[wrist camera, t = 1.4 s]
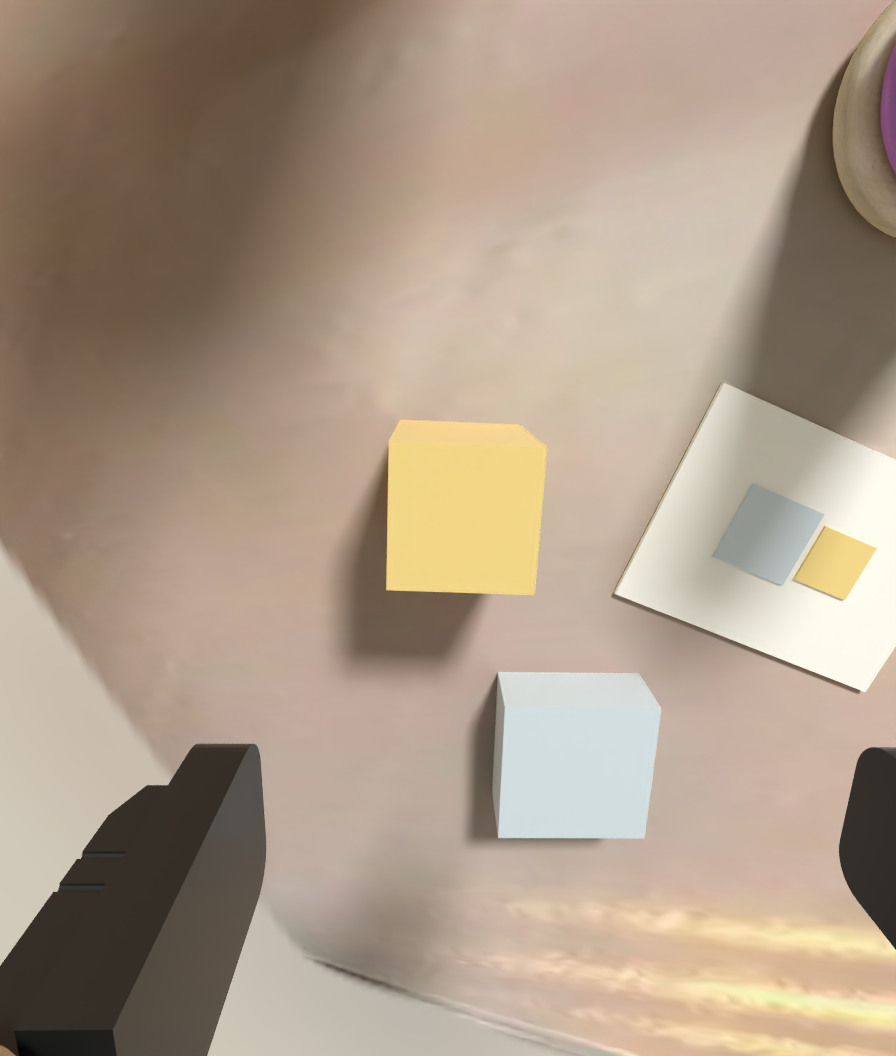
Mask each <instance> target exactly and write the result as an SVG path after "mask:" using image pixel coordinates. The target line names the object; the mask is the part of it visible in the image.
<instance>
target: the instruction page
mask: <svg viewBox="0 0 896 1056" xmlns="http://www.w3.org/2000/svg"><path fill="white" fill-rule="evenodd" d="M614 593H615V594H616V595H619V596H621V597H624V598H626V599H629V600H632V601H634V602H637V603H639V604H642V605H644V606H647V607H649V608H652V609H654V610H657V611H660V612H662V613H665V614H667V615H670V616H672V617H675V618H677V619H680V620H682V621H685V622H688V623H690V624H693V625H695V626H698V627H700V628H703V629H705V630H708V631H711V632H713V633H716V634H718V635H721V636H723V637H726V638H728V639H731V640H733V641H736V642H739V643H741V644H744V645H746V646H749V647H751V648H754V649H756V650H759V651H761V652H764V653H767V654H769V655H772V656H774V657H777V658H779V659H782V660H784V661H787V662H790V663H792V664H795V665H797V666H800V667H802V668H805V669H807V670H810V671H812V672H815V673H818V674H820V675H823V676H825V677H828V678H830V679H833V680H835V681H838V682H840V683H843V684H846V685H848V686H851V687H853V688H856V689H858V690H861V691H863V692H866V690H867V689H868V687H869V686H870V684H871V683H872V681H873V680H874V678H875V677H876V675H877V674H878V672H879V670H880V669H881V667H882V666H883V664H884V663H885V661H886V660H887V658H888V657H889V655H890V654H891V652H892V651H893V649H894V648H895V646H896V460H895V459H893V458H890V457H888V456H886V455H884V454H882V453H879V452H877V451H875V450H873V449H870V448H868V447H866V446H864V445H862V444H859V443H857V442H855V441H853V440H850V439H848V438H846V437H844V436H841V435H839V434H837V433H835V432H833V431H830V430H828V429H826V428H824V427H821V426H819V425H817V424H815V423H813V422H810V421H808V420H806V419H804V418H801V417H799V416H797V415H795V414H793V413H790V412H788V411H786V410H784V409H781V408H779V407H777V406H775V405H773V404H770V403H768V402H766V401H764V400H761V399H759V398H757V397H755V396H752V395H750V394H748V393H746V392H744V391H741V390H739V389H737V388H735V387H732V386H730V385H728V384H726V383H721V385H720V387H719V389H718V391H717V393H716V395H715V397H714V399H713V400H712V402H711V404H710V406H709V408H708V410H707V412H706V414H705V416H704V418H703V420H702V422H701V424H700V426H699V428H698V430H697V431H696V433H695V435H694V437H693V439H692V441H691V443H690V445H689V447H688V449H687V451H686V453H685V455H684V457H683V459H682V461H681V463H680V464H679V466H678V468H677V470H676V472H675V474H674V476H673V478H672V480H671V482H670V484H669V486H668V488H667V490H666V492H665V494H664V496H663V497H662V499H661V501H660V503H659V505H658V507H657V509H656V511H655V513H654V515H653V517H652V519H651V521H650V523H649V525H648V527H647V529H646V530H645V532H644V534H643V536H642V538H641V540H640V542H639V544H638V546H637V548H636V550H635V552H634V554H633V556H632V558H631V560H630V562H629V563H628V565H627V567H626V569H625V571H624V573H623V575H622V577H621V579H620V581H619V583H618V585H617V587H616V589H615V591H614Z"/></svg>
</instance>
